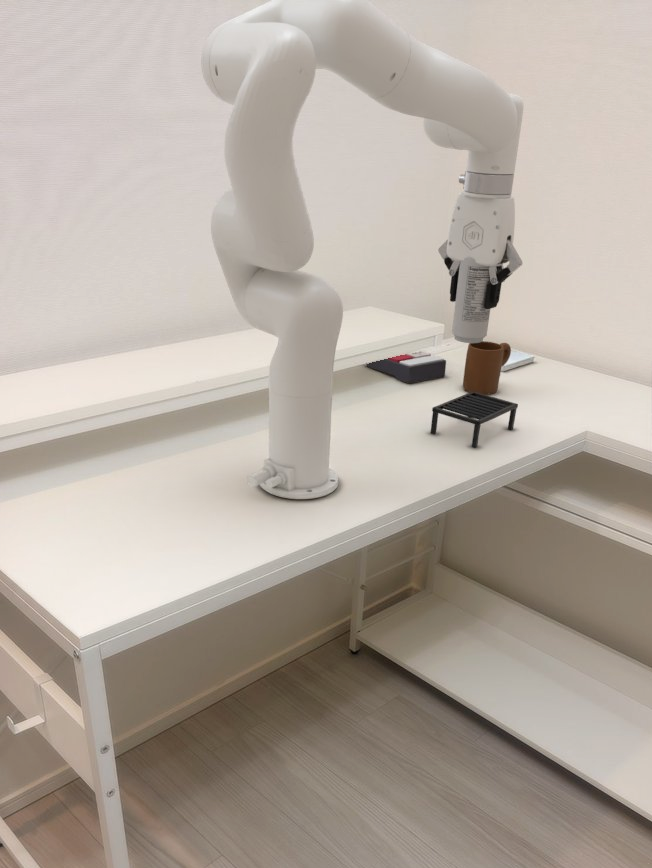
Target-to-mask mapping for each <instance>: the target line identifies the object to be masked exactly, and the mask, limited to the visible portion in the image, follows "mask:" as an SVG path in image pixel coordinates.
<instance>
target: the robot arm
mask: <svg viewBox="0 0 652 868" xmlns="http://www.w3.org/2000/svg"><path fill="white" fill-rule="evenodd" d="M200 64H201V73H202V76H203V79H204V82H205V84H206V86H207V88H208V89H209V90H210V92H211V93H212V94H213V95H214V96H215V97H216V98H217V99H219V100H220V101H222V102H224V103H226V104H229V105H232V108H231V112H230V114H229V118H228V121H227V125H226V130H225V132H224V133H225V134H224V143H223V155H224V162H225V167H226V172H227V175H228V179H229V182H230V186H231V188H230V189H227V190H226V191H224V192H223V193H222V194H221V195H220V196H219V198H218V199H217V200H216V202H215V204H214V207H213V209H212V213H211V217H210V218H211V219H210V234H211V240H212V244H213V247H214V250H215V253H216V257H217V260H218V262H219V265H220V267H221V270H222V273H223V276H224V278H225V282H226V284H227V286H228V290H229V292H230V295H231V298H232V300H233V302H234V306H235V307H236V309H237V312H238V313H239V314H240V315H239V316H240V317H241V318H242V319H243V320H244V321H245V322H246V323H247V324H248V325H250V326H251V327H253V328H255V329H257V330H259V331H262V332H264V333H266V334H270V335H272V336H274V337H275V338H277V339H278V341H277V345H276V348H275V350H274V353H273V355H272V358H271V360H270V364H269V369H268V458H265V459H264V467H261V470H260V471H257V472H254V473H250V474H249V475H247V477H246V480H247V484H248V485H249V486H250V487H251V488H255V487H257V486H260V488H262V490H264V491H266V492H267V493H268V494H271V495H273V496H276V497H279V498H284V499H288V500H289V499H290V500H311V499H317V498H322V497H325V496H327V495H330V494H331V493H333V492H334V491H335V490H336V489H337V488H338V485H339V476H338V474H337V473H336V472H335V471H334V470H333V469H331V468H330V455H331V453H330V451H331V431H332V409H333V408H332V407H333V406H332V405H333V381H334V366H335V356H336V350H337V346H338V345H337V344H338V339H339V336H340V332H341V328H342V323H343V317H344V307H343V306H344V305H343V302H342V298H341V296H340V294H339V292H338V291H337V289H336V288H335V286H334V285H332V284H331V283H330V282H329V281H327V280H326V279H324V278H322V277H321V276H319V275H316V274H313V273H309V272H306V271H302V270H301V269H302V268H303V267H305V266H306V265H307V264H308V263H309V261H310V260H311V258H312V255H313V252H314V246H315V245H314V244H315V238H314V232H313V226H312V222H311V219H310V215H309V211H308V207H307V204H306V200H305V195H304V193H303V188H302V185H301V181H300V178H299V174H298V170H297V166H296V165H297V164H296V161H295V160H296V159H295V155H294V146H293V145H294V134H295V128H296V125H297V121H298V118H299V116H300V113H301V110H302V108H303V106H304V104H305V102H306V100H307V99H308V97H309V95H310V93H311V91H312V90H311V89H312V88H313V85H314V82H315V77H316V70H326V71H328V72H331V73H333V74H335V75H336V76H338V77H339V78H341V79H342V80H344V81H346V82H347V83H349V84H350V85H352V86H353V87H354V88H356V89H357V90H359V91H360V92H362V93H364V94H365V95H366V96H368V97H369V98H371V99H372V100H374V101H375V102H376V103H378V104H380V106H382V107H384V108H386V109H389V110H392V111H394V112H398V113H400V114H403V115H407V116H412V117H417V118H421V119H422V126H423V131H424V133H425V135H426V137H427V139H429V141H430V142H432V144H434V145H436V146H438V147H440V148H444V149H451V150H459V151H467V159H466V167H465V168H466V169H465V171H464V174H463V173H461V174H460V175H459V176H458V183H459V184H462V185H463V188H462V189H463V192H459V193H458V195H457V197H456V200H455V203H454V209H453V211H452V215H451V219H450V220H451V221H450V225H449V231H448V237H447V239H446V240H445V241H444V242H443V243H442V244H441V245H440V246H439V247H438V249H437V250H438V253H439V255H440V257H441V258H442V260H443V263H444V265H445V267H446V268H447V270H448V274H449V276H450V277H451V279H450V285H449V286H450V288H449V294H450V295H449V301H450V302H452V303H453V302H456V293H457V284H458V276H459V267H460V261H461V262H462V261H464V258H466V257H472V258H474V259H475V260H476V263H478V264H479V265H483V266H488V270H489V275H490V283H489V284H487V288H486V295H485V303H484V308H485V309H490V310H491V309H494V308H496V307H497V306H498V304H499V302H500V297H501V292H502V291H501V289H502V283H505V281H506V280H507V279H508V278H509V277H510V276H511V275H513V273H514V272H516V271H517V270H518V269H519V268H520V267H522V266H523V260H522V259H521V257H520V255H519V253H518V251H517V250H516V248H515V246H514V238H515V226H516V225H515V224H516V208H515V207H516V205H515V197H513V196H512V191H513V185H514V178H515V170H516V164H517V156H518V151H519V144H520V137H521V130H522V123H523V116H524V109H525V108H524V107H525V106H524V100H523V98H522V97H521V96H520V95H519V94H515V93H508V91H507V90H505V88H503V86H501V85H500V84H499V83H498V82H496V80H494V79H493V78H491V77H490V76H489V75H488V74H487V73H485V72H484V71H481V70H480V69H478V68H476V67H475V66H472V65H470V64H469V63H467V62H464V61H463V60H460V59H457V58H456V57H454V56H451V55H449V54H447V53H445V52H444V51H442V50H440V49H437V48H436V47H434V46H431V45H428V44H427V43H424V42H421V41H419V40H418V39H417V38H415V37H414V36H413V35H412V34H410V32H408V31H407V30H405V29H404V28H403V27H401V26H400V25H399V24H398V23H396V21H394V20H393V19H391V18H390V17H389V16H388V15H386V13H384V12H383V11H382V10H380V9H379V8H378V7H377V6H375V5H374V3H372V2H370V0H269V1H267V2H265V3H263V4H261V5H259V6H257V7H255V8H253V9H251V10H249V11H247V12H244V13H242V14H240V15H238V16H236V17H234V18H231V19H229V20H227V21H225V22H223V23H221V24H220V25H218V26H217V27H216V28H215V29H213V30H212V32H210V34H209V35H208V37H207V38H206V40H205V43H204V45H203V47H202V52H201V61H200ZM507 263H508V264H507ZM504 264H507V265H506V266H505V267H504Z"/></svg>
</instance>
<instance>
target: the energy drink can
mask: <svg viewBox="0 0 652 868" xmlns="http://www.w3.org/2000/svg"><path fill="white" fill-rule="evenodd" d="M489 283H490V275H489V270H488V266H483V265H479V264H478V263H476V260H475V259H474V258H472V257H466V258H464V261H462V262H461V261H460V267H459V276H458V284H457V293H456V301H455V303H454V309H453V311H454V312H453V320H452V328H451V334H452V335H453V336H454V340H455V341H457V342H460V343H463V344H469V343H480V342H482V341H484V338H486V337H487V336H488V330H489V322H490V315H491V309H485V308H484V303H485V295H486V288H487V284H489Z"/></svg>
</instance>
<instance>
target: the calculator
mask: <svg viewBox="0 0 652 868" xmlns="http://www.w3.org/2000/svg"><path fill="white" fill-rule="evenodd" d="M446 366H447V360H446V359H444V358H442V357H441V356H440V357H439V356H436V355H432V353H429V352H426V351H423V350H419V352H415V353H412V354H405V355H400V356H396V357H392V358H388V359H384V360H380V361H376V362H372V363H369V364H367V363H366V367H367V368H370V369H372V370H376V371H378V372H382V373H385V374H387V375H391V376H394V377H395V378H396V380H398V381H401V382H403V383H407V384H414V383H418V382H424V381H428V380H433V379H438V378H443V377H445V376H446V369H447V368H446Z"/></svg>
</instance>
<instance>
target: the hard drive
mask: <svg viewBox="0 0 652 868" xmlns="http://www.w3.org/2000/svg"><path fill="white" fill-rule="evenodd" d="M534 361H535V355H532V354H529V353H525V352H521V351H517V350H513V349H511V354H510V357H509V359H508V361H507V362H506V364H505V365H503V366H501V372H505V371H509V370H512V369H515V368H518V367H521V366H524V365H527V364H530V363H534Z"/></svg>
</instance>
